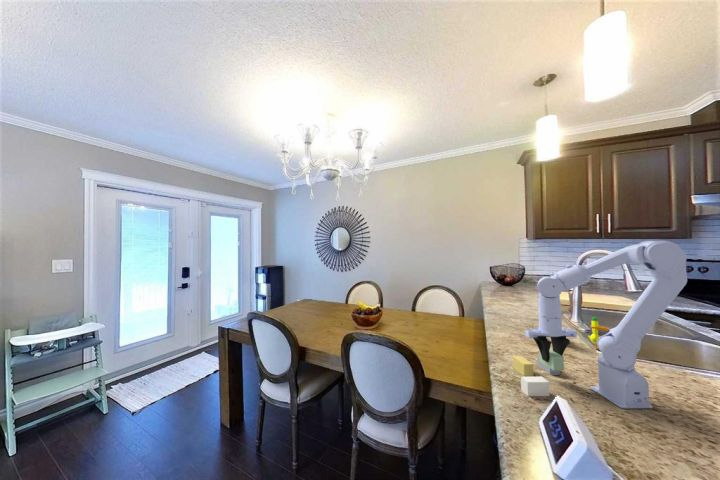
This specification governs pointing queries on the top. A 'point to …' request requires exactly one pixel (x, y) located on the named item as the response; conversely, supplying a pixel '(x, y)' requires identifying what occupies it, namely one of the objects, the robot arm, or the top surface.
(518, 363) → the mustard brick
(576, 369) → the top surface
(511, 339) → the top surface
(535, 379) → the cream brick
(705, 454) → the top surface
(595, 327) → the toy figure
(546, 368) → the grey brick
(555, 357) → the green brick
